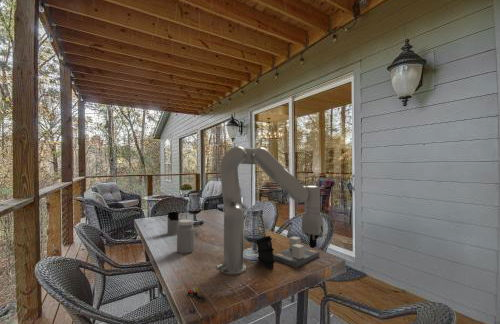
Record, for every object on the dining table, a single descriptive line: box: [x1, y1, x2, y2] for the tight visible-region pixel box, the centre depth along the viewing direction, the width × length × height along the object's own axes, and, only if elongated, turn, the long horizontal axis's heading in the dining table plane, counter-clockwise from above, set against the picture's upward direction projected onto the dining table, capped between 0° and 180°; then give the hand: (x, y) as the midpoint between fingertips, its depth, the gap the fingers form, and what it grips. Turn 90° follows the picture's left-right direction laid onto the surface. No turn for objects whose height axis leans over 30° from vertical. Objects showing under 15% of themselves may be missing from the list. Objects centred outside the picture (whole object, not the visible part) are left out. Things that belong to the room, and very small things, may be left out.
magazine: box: [255, 235, 276, 270], centre depth 128 cm, size 4×13×15 cm, turn 26°
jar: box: [176, 218, 195, 255], centre depth 145 cm, size 10×10×18 cm
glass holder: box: [166, 211, 188, 236], centre depth 183 cm, size 9×14×15 cm, turn 115°
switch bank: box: [273, 247, 320, 268], centre depth 137 cm, size 22×15×3 cm
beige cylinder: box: [289, 235, 302, 249], centre depth 144 cm, size 4×4×6 cm
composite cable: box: [186, 286, 206, 303], centre depth 96 cm, size 10×5×2 cm, turn 35°
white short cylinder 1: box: [292, 244, 305, 259], centre depth 130 cm, size 4×4×6 cm
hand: (313, 247), depth 125 cm, fingers closed
